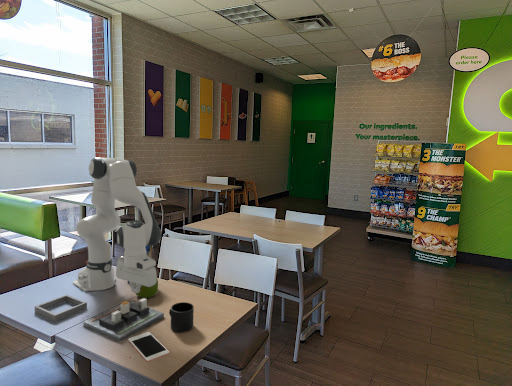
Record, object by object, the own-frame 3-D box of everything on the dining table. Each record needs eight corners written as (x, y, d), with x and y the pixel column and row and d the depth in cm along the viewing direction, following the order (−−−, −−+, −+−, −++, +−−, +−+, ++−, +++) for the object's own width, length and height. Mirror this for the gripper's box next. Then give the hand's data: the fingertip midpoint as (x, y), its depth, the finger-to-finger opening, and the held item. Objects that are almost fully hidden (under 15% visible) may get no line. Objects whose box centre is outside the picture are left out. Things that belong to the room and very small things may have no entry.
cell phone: (149, 333, 144) (149, 331, 144) (169, 354, 131) (169, 351, 131) (127, 340, 138) (127, 338, 138) (147, 363, 125) (147, 360, 125)
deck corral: (34, 312, 156) (34, 306, 155) (66, 300, 169) (66, 294, 168) (55, 322, 149) (54, 315, 148) (87, 308, 162) (86, 302, 161)
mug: (176, 317, 157) (177, 298, 156) (197, 325, 151) (198, 305, 150) (161, 326, 149) (161, 306, 148) (182, 335, 143) (183, 314, 142)
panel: (83, 326, 147) (83, 308, 146) (129, 304, 167) (129, 288, 166) (119, 342, 136) (119, 323, 135) (163, 317, 157) (164, 300, 156)
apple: (151, 289, 186) (151, 269, 185) (162, 295, 179) (162, 275, 177) (131, 294, 178) (131, 274, 177) (141, 302, 171) (141, 280, 169)
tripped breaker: (120, 312, 150) (120, 302, 150) (126, 310, 153) (126, 300, 152) (123, 314, 149) (123, 304, 149) (129, 311, 152) (129, 301, 151)
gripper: (111, 257, 147) (112, 289, 149) (147, 266, 138) (147, 300, 139) (123, 253, 153) (124, 284, 155) (159, 262, 143) (159, 294, 145)
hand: (135, 291), depth 147 cm, fingers closed
